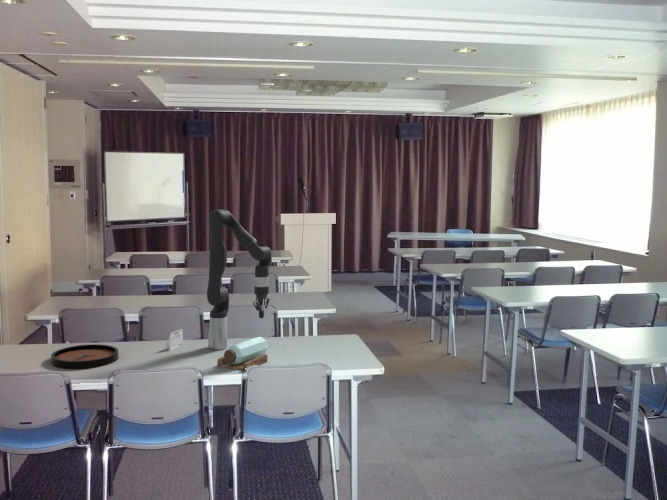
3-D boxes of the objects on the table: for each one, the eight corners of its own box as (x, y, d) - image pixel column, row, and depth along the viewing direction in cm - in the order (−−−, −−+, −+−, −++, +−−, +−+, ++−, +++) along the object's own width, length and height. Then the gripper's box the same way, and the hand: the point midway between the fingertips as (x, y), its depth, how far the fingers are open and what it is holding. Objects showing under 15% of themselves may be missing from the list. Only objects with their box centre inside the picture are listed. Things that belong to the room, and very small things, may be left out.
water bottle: (268, 356, 322) (236, 368, 301) (253, 352, 327) (220, 364, 306) (269, 338, 321) (237, 349, 300) (254, 333, 326) (221, 344, 305)
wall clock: (98, 341, 334) (130, 352, 314) (98, 348, 335) (130, 360, 315) (39, 352, 311) (70, 365, 290) (39, 360, 311) (70, 374, 291)
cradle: (217, 365, 307) (217, 358, 307) (238, 356, 323) (238, 350, 323) (247, 371, 300) (247, 364, 299) (267, 361, 316) (267, 354, 315)
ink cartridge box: (166, 350, 333) (166, 332, 332) (179, 345, 343) (179, 328, 342) (169, 350, 332) (169, 332, 331) (183, 346, 342) (183, 328, 341)
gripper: (262, 282, 330) (262, 314, 332) (248, 286, 318) (248, 319, 320) (274, 283, 327) (274, 316, 329) (261, 287, 315) (260, 321, 317)
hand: (261, 317), depth 324 cm, fingers closed
